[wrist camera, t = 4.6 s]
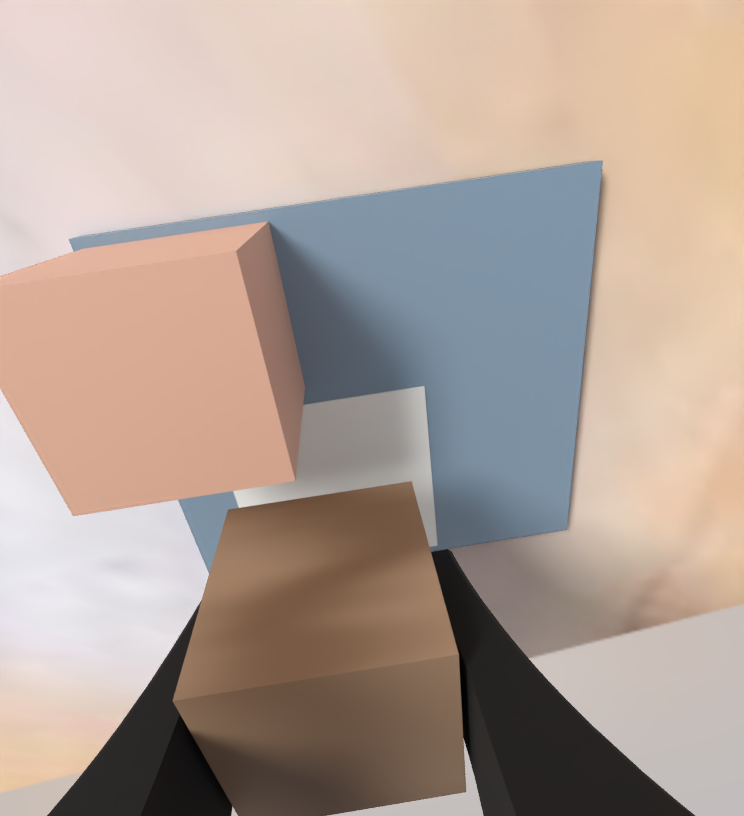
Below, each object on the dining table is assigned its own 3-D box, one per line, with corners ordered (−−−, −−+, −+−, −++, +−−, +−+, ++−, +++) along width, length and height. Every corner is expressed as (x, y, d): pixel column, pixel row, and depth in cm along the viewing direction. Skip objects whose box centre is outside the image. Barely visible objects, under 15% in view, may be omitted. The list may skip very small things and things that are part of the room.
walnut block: (411, 481, 11) (458, 653, 7) (424, 605, 13) (466, 792, 9) (228, 509, 11) (172, 700, 7) (270, 630, 13) (246, 829, 9)
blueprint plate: (591, 160, 12) (604, 160, 11) (560, 520, 17) (567, 530, 17) (78, 236, 11) (67, 239, 11) (217, 575, 17) (214, 587, 16)
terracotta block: (268, 220, 11) (235, 250, 7) (304, 387, 13) (295, 481, 9) (83, 248, 11) (-54, 293, 7) (150, 410, 13) (73, 516, 9)
